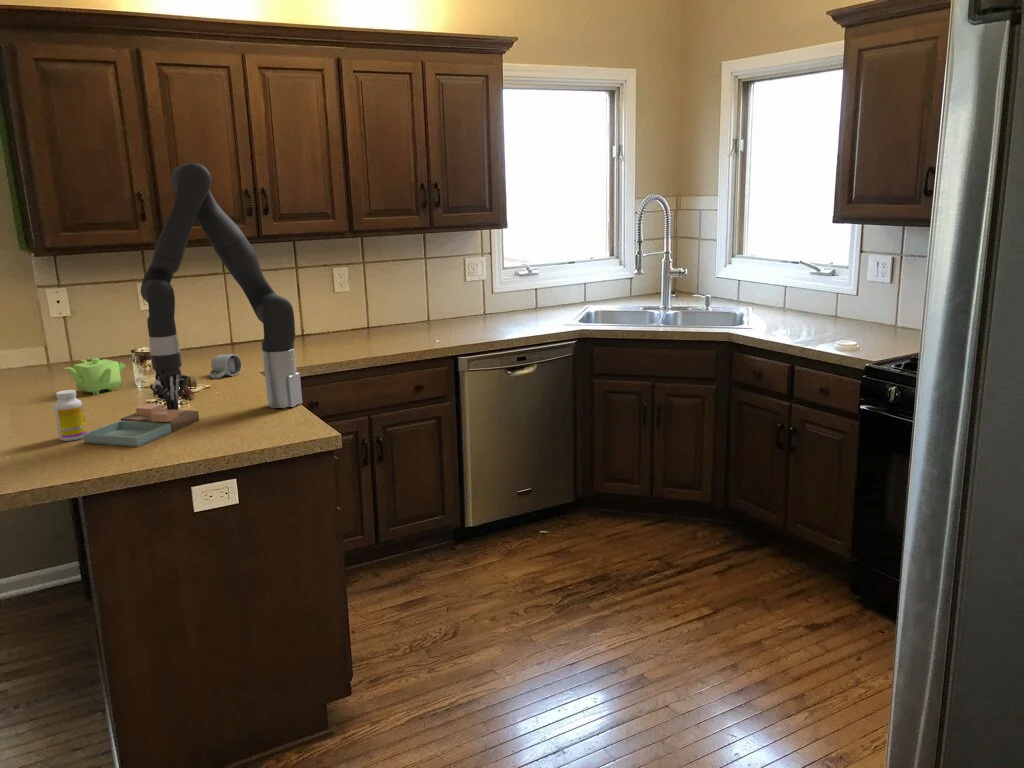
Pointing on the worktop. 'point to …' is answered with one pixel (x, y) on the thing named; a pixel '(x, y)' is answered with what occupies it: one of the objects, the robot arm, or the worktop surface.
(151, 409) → the tile
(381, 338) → the worktop surface
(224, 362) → the ceramic mug
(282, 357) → the robot arm
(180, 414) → the dark brown wooden board
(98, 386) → the kettle
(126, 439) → the tray
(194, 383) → the gavel
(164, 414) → the tile
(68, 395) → the supplement bottle
